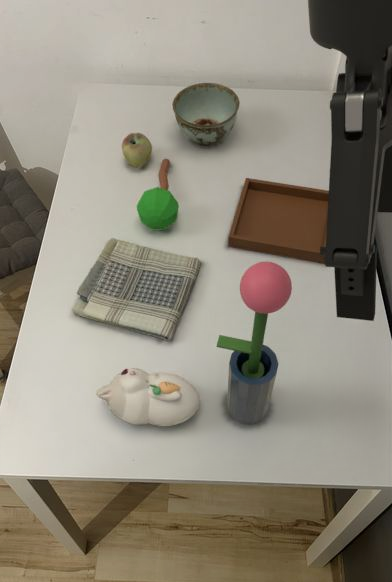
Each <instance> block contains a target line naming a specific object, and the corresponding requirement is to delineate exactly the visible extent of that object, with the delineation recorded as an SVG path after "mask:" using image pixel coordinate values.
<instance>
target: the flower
mask: <svg viewBox="0 0 392 582" xmlns="http://www.w3.org/2000/svg"><path fill="white" fill-rule="evenodd" d="M292 290H293V285H292V280H291V277H290V275H289V273H288V271H287V270H286V269H285V268H284V267H283V266H282V265H280V264H278V263H275V262H273V261H259V262H257V263H254V264H252V265H251V266H249V267H248V268H247V269H246V270H245V271H244V273H243V274H242V276H241V279H240V282H239V294H240V297H241V299H242V302H243V303H244V305H245V306H246V307H247V308H248V309H250V310H251V311H253V312H254V319H253V326H252V332H251V333H252V334H251V340H247V339H241V338H237V337H232V336H228V335H222V334H219V335H218V338H217V342H216V348H219V349H223V350H224V349H225V350H229V351H232V352H234V351H238V352H243V353H248V354H250V355H249V360H247V361H246V362H244V364H243V365H242V369H241V374H242V375H244V376H246V377H248V378H250V379H259V378H261V377H263V375H264V366H263V364H262V363H261V362H260V357H261V352H262V346H263V345H264V340H265V333H266V330H267V329H266V328H267V323H268V317H269V314H273V313H275V312H278V311H279V310H281V309H282V308H284V307H285V305H286V304H287V303H288V302H289V300H290V298H291V295H292Z"/></svg>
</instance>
